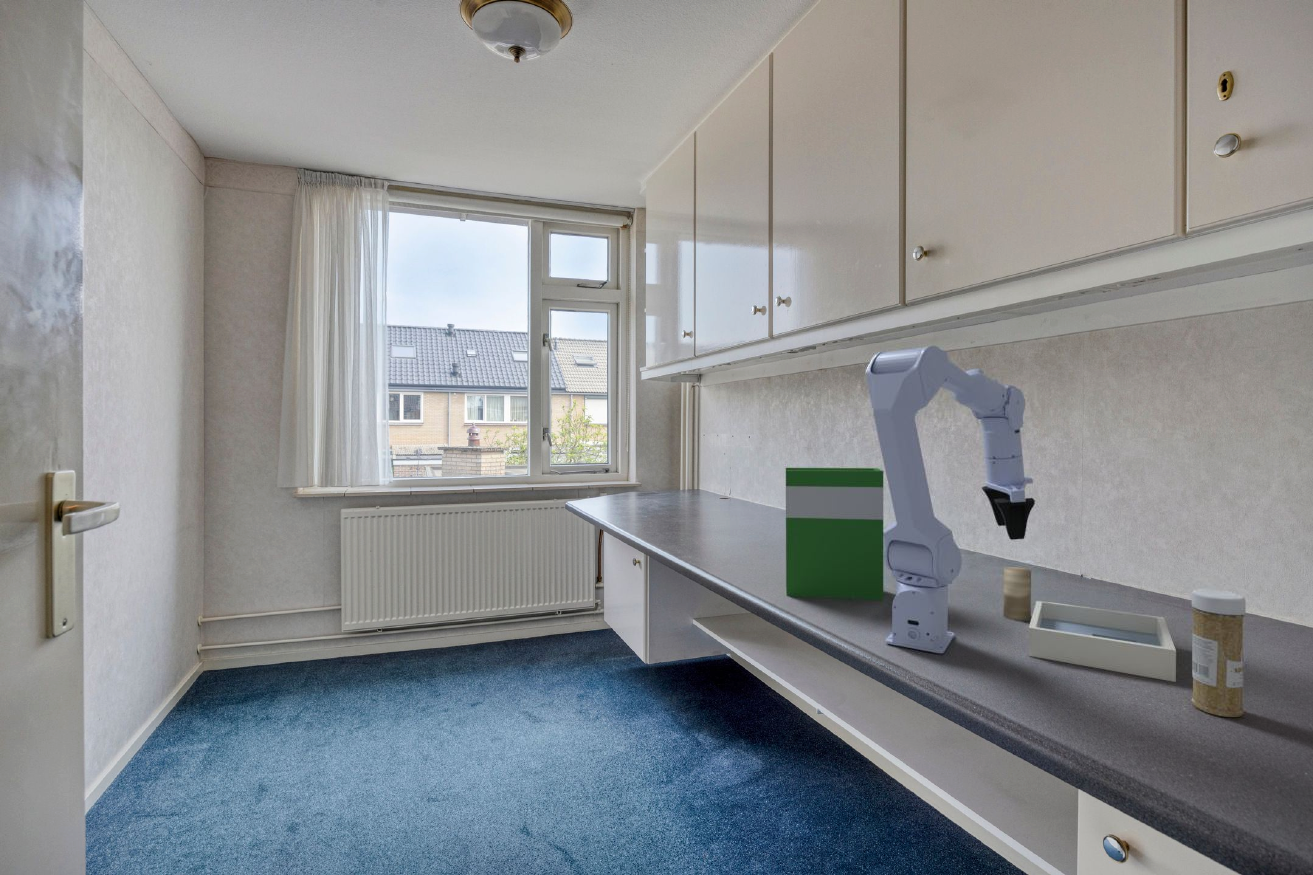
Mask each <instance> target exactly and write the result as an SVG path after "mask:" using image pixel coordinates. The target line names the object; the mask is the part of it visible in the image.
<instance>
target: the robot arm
mask: <svg viewBox="0 0 1313 875" xmlns="http://www.w3.org/2000/svg"><path fill="white" fill-rule="evenodd" d="M864 374H865V379H866V384H867V389H868V393H869V394H868V395H869V398H870V402H871V407H872V413H873V417H874V418H873V419H874V423H875V428H876V431H877V432H876V433H877V436H878V442H879V446H880V451H881V457H882V460H883V465H884V470H885V475H886V479H887V483H888V490H889V494H890V499H891V504H892V507H893V512H894V515H895V516H894V517H895V521H894V522H893V523H891V524H890V525H889V526H888V527H887V528H886V529H885V531H883V541H884V548H883V560H884V563H885V565H886V567H887V569H888V570H889V571H890V572H891V577H892V578H893V579H895V580H896V581H895V584H896V587H895V588H896V590H895V592H896V593H895V596H894V598H893V601H892V606H891V608H892V611H891V612H892V613H891V615H892V617H891V618H892V620H891V621H892V622H891V624H892V625H891V626H892V630H891V631H892V632H891V633H890V634H889V636H887V638H886V639H885V643H886V644H887V645H892V646H899V647H902V648H904V647H905V648H910V649H915V650H920V651H924V652H930V653H935V654H944V653H945V651H946V650H947V648H948V646H949V645H950V643H951V641H952V639H953V638H954V637H955V632H953V631H948V621H949V620H948V616H949V615H948V614H949V611H948V610H949V609H948V606H949V605H948V604H949V602H948V600H949V599H948V598H949V596H948V595H949V594H948V592H949V589H948V587H949V586H948V585H951V584H953V582H954V581H955V580H956V578H957V577H958V576H959V574H960V571H961V570H962V569H961V568H962V564H963V563H962V562H963V559H962V558H963V557H962V553H961V551H960V548H959V546H958V545H957V543H956V542H955V539H954V536H953V531H952V529H950V528H949V527H948V526H947V525H946V524H945V523H943V522H941V520H939V519H938V518H937V517H936V516H935V512H934V509H933V503H932V498H931V494H930V488H929V484H928V479H927V474H926V469H925V468H926V467H925V463H924V459H923V453H922V449H921V443H920V439H919V434H918V430H917V429H918V428H917V423H916V416H917V413H918V412H919V411H921V410H923V409H924V408H926V407H928V405H929V404H930V402H931V401H932V400H933V399H934V397H935V396H936V394H938V392H939V391H940V389H941V388H943V389H945V390H947V391H950V392H951V396H952V398H953V399H954V401H955V402H957V403H958V404H959V405H962V406H965V407H967V408H968V409H970V410H971V412H972V414H973V417H974V418H975V419H976V420H980V424H981V435H982V436H981V437H982V444H983V455H984V464H985V465H984V466H985V475H986V476H985V477H986V480H985V486H982V487H981V490H982V491H983V492H984V494H985V495H986V497H987V499H988V502H989V504H990V506H991V509H992V513H993V515H994V518H995V522H996V523H997V526H998V527H1005V529H1006V533H1007V536H1008V537H1009V540H1011V541H1012V540H1014V541H1015V540H1024V539H1025V537H1026V532H1027V526H1028V520H1029V516H1030V514H1031V511H1032V509H1033V507H1034V506H1035V504H1036V500H1035V499H1034V498H1033V497H1027V498H1026V491H1025V489H1026V487H1027V484H1033V482H1034V480H1033V478H1032V477H1031V476H1025V469H1024V468H1025V467H1024V456H1023V455H1024V454H1023V445H1022V435H1021V428H1023V427H1024V426H1023V424H1024V413H1025V409H1026V399H1025V396H1024V393H1023V391H1022V390H1021V389H1020V388H1018V387H1016V386H1015V385H1011V384H1010V385H1004V384H1001V383H1000V382H999V381H998V380H997V379H996V378H991V377H989V376H987V375H986V374H984V370H982V369H980V368H973V369H970V370H966V371H965V370H963V369H962V368H960V367H959V366H958V365H956V364H955V363H953V362H952V361H951V360H950V359H949V354H948V353H947V350H943V349H941V348H940V347H939V346H936V345H927V346H925V347H919V348H909V349H902V350H901V349H900V350H893V351H892V350H891V351H885V350H883V351H879V352H876V353H875V354H873V356H872V358H871V360H870V361H869V363H868V366H867V367H866V370H865V372H864Z"/></svg>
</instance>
